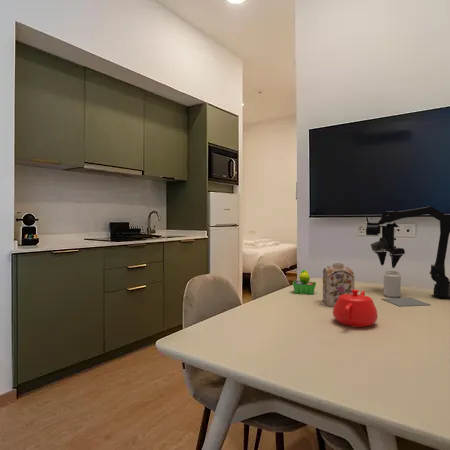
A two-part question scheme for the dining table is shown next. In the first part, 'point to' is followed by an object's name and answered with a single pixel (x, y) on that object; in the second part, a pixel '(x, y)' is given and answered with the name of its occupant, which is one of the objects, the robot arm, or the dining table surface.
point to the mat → (405, 302)
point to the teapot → (355, 309)
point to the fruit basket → (304, 284)
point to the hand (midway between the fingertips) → (387, 266)
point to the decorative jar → (337, 282)
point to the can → (392, 284)
